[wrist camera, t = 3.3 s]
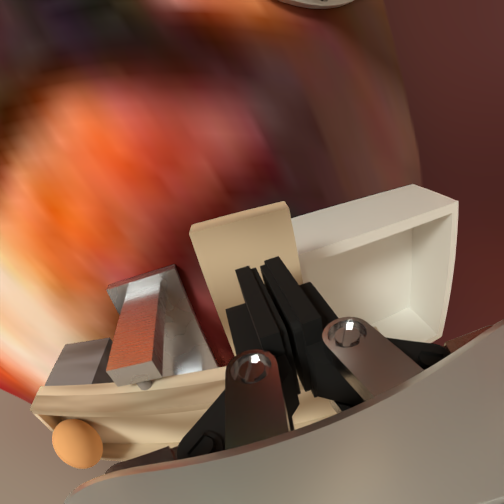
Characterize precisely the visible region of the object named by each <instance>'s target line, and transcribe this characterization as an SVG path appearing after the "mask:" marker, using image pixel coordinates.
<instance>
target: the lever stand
mask: <svg viewBox="0 0 504 504" xmlns="http://www.w3.org/2000/svg"><path fill="white" fill-rule="evenodd" d="M107 292H108V294H109V296H110V298H111V300H112V302H113V304H114V306H115V307H116V309H117V311H118V313H119V315H120V317H119V321H118V324H117V328H116V332H115V335H114V339H113V343H112V347H111V351H110V355H109V360H108V364H107V368H106V372H107V373H108V375H109V376H110V377H111V379H112V380H113V381H114V383H115V384H116V385H117V387H119V386H125V385H130V384H135V383H139V382H144V381H149V380H153V379H158V378H162V377H166V376H173V375H179V374H186V373H192V372H198V371H204V370H209V369H215V368H219V365H218V363H217V361H216V359H215V357H214V355H213V353H212V350H211V348H210V346H209V344H208V342H207V340H206V337H205V335H204V333H203V331H202V328H201V326H200V324H199V321H198V319H197V317H196V315H195V312H194V310H193V307H192V305H191V303H190V300H189V298H188V296H187V293H186V291H185V288H184V286H183V283H182V281H181V278H180V276H179V273H178V271H177V268H176V266H175V264H173V265H170V266H167V267H164V268H161V269H158V270H154V271H151V272H148V273H145V274H142V275H139V276H136V277H132V278H129V279H126V280H123V281H120V282H117V283H114V284H111V285H108V287H107Z"/></svg>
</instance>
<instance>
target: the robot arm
mask: <svg viewBox="0 0 504 504" xmlns="http://www.w3.org/2000/svg"><path fill="white" fill-rule="evenodd" d="M278 1H281V2H284V3H288V4H291V5H294V6H299V7H305V8H312V9H328V8H337V7H340V6H343V5H346V4H348V3H350V2H352V1H354V0H278ZM264 263H265V265H261V266H260V269H261V273H262V277H263V281H264V283H263V281H262V279H261V277H260V275H259V273H258V271H257V269H256V267H255V268H252V269H251V268H250V266H245V267H242V268H239V269H236V270H235V272H236V275H237V279H238V282H239V285H240V288H241V292H242V295H243V298H244V301H245V303H243V304H240V305H237V306H234V307H231V308H227V309H225V310H226V315H227V319H228V323H229V327H230V332H231V336H232V340H233V344H234V348H235V352H236V356H235V357H234V358H233V359H232V360H230V362H229V363H228V365H227V367H226V371H225V390H224V391H223V392H222V393H221V394H220V395H219V397H218V398H217V399H216V400H215V401H214V403H213V404H212V405H211V406H210V407H209V409H208V410H207V411H206V412H205V413H204V414H203V415H202V417H201V418H200V419H199V420H198V421H197V422H196V424H195V425H194V426H193V427H192V428H191V429H190V430H189V431H188V433H187V434H186V435H185V436H184V437H183V438H182V440H181V441H180V443H179V445H178V446H176V447H174V448H170V447H169V446H167V447H164V448H162V449H159V450H156V451H153V452H150V453H148V454H145V455H142V456H139V457H136V458H133V459H130V460H127V461H123V462H120V463H117V464H115V465H113V466H111V467H110V468H109V469H108V470H107V471H106V473H105V475H101V476H99V477H96V478H94V479H92V480H89V481H87V482H85V483H83V484H82V485H80V486H78V487H77V488H76V489H74V490H73V491H72V492H71V493H70V494H69V495H68V497H67V498H66V500H65V502H64V504H504V320H502V321H500V322H498V323H496V324H495V325H491V326H486V327H484V328H481V329H479V330H476V331H474V332H471V333H469V334H466V335H463V336H461V337H458V338H455V339H453V340H450V341H447V342H445V343H444V346H440V345H437V344H433V343H424V342H416V341H408V340H401V339H393V338H386V337H384V336H383V335H382V334H381V333H380V332H378V331H377V330H376V329H375V328H374V327H372V326H371V325H370V324H369V323H368V322H366V321H364V320H363V319H360V318H357V317H342V318H338V317H337V315H336V314H335V313H334V311H333V310H332V309H331V307H330V306H329V305H328V304H327V302H326V301H325V300H324V298H323V297H322V296H321V294H320V293H319V292H318V291H317V289H316V288H315V287H314V285H313V284H312V283H311V282H307V283H304V284H301V285H299V284H298V283H297V281H296V280H295V279H294V277H293V276H292V274H291V273H290V271H289V270H288V269H287V267H286V266H285V264H284V263H283V261H282V260H281V259H280V257H279V256H277V257H274V258H271V259H268V260H265V261H264ZM297 375H298V377H299V380H300V382H301V384H302V386H303V388H304V390H305V392H307V391H310V390H311V392H312V394H313V396H314V398H316V397H321V398H325V399H329V402H330V404H331V406H332V407H333V409H334V410H335V411H336V413H337V414H335V415H333V416H331V417H328V418H326V419H323V420H320V421H318V422H315V423H313V424H310V425H307V426H304V427H302V428H299V429H296V430H295V426H294V421H293V417H292V416H293V414H294V413H295V411H296V409H297V408H298V406H299V404H300V402H299V398H298V395H299V394H301V391H300V387H299V382H298V377H297Z"/></svg>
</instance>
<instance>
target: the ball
mask: <svg viewBox="0 0 504 504" xmlns="http://www.w3.org/2000/svg"><path fill="white" fill-rule="evenodd" d="M52 443H53V447H54V449H55V451H56V453H57V454H58V456H59V457H60V458H61V459H62V460H63V461H64V462H65V463H67V464H68V465H70V466H72V467H75V468H80V469H85V468H89V467H92V466H94V465H95V464H97V463H98V462H99V460H100V459H101V457H102V453H103V444H102V440H101V438H100V436H99V434H98V433H97V431H96V430H95V429H94V428H93V427H92V426H91V425H89V424H88V423H86V422H84V421H82V420H78V419H67V420H64V421H62V422H60V423H59V424H58V425H57V426H56V427H55V429H54V431H53V436H52Z"/></svg>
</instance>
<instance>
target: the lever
mask: <svg viewBox="0 0 504 504" xmlns="http://www.w3.org/2000/svg"><path fill="white" fill-rule="evenodd" d="M189 235H190V238H191V241H192V244H193V246H194V249H195V252H196V255H197V258H198V261H199V264H200V266H201V269H202V272H203V275H204V277H205V280H206V283H207V286H208V288H209V291H210V294H211V296H212V299H213V302H214V304H215V307H216V310H217V312H218V315H219V318H220V320H221V323H222V325H223V328H224V330H225V333H226V336H227V338H228V341H229V343H230V346H231V348H232V351H233V353H234V356H236V352H235V348H234V344H233V340H232V336H231V332H230V327H229V323H228V319H227V315H226V310H225V309H227V308H231V307H234V306H237V305H240V304H243V303H245V301H244V298H243V295H242V292H241V288H240V285H239V282H238V279H237V275H236V272H235V270H236V269H239V268H242V267H245V266H250V268H251V269H252V268H255V267H256V269H257V271H258V273H259V275H260V277H261V279H262V281H263V277H262V273H261V269H260V266H261V265H265V263H264V261H265V260H268V259H271V258H274V257H277V256H279V257H280V259H281V260H282V261H283V263H284V264H285V266H286V267H287V269H288V270H289V271H290V273H291V274H292V276H293V277H294V279H295V280H296V281H297V283H298V284H299V285H301V284H303V280H302V274H301V269H300V263H299V258H298V252H297V247H296V242H295V237H294V231H293V226H292V221H291V216H290V211H289V207H288V206H287V205H286V203H285V202H284V201H282V202H278V203H274V204H270V205H266V206H262V207H258V208H254V209H250V210H246V211H242V212H238V213H234V214H230V215H227V216H223V217H219V218H215V219H211V220H208V221H204V222H200V223H197V224H193V225H191V229H190V232H189ZM263 283H264V281H263ZM374 328H375V329H376V330H377V331H378V329H377V327H376V326H375V327H374ZM378 332H379V331H378ZM112 343H113V342H112V341H111V339H110V338H105V339H99V340H93V341H86V342H80V343H73V344H66V345H65V346H64V348H63V350H62V352H61V354H60V356H59V358H58V360H57V362H56V363H55V365H54V367H53V369H52V371H51V373H50V375H49V378H48V380H47V382H46V384H45V386H40V388H39V390H38V392H37V394H36V397H35V399H34V401H33V403H32V405H31V408H30V411H31V412H32V413H33V414H34V415H35V416H36V417H37V418H39V420H40V421H41V422H42V423H43V424H44V425H45V426H46V427H48V428H49V429H50V430H51V431H52V432H53V431H54V429H55V427H56V426H57V425H58V424H59V423H60V422H62V421H64V420H67V419H78V420H82V421H84V422H86V423H88V424H89V425H91V426H92V427H93V428H94V429H95V430H96V431H97V433H98V434H99V436H100V438H101V440H102V444H103V453H102V457H101V459H100V460H111V461H127V460H130V459H133V458H136V457H139V456H142V455H145V454H148V453H150V452H153V451H156V450H159V449H162V448H164V447H167V446H169V447H170V448H174V447H176V446H178V445H179V443H180V441H181V440H182V438H183V437H184V436H185V435H186V434H187V433H188V431H189V430H190V429H191V428H192V427H193V426H194V425H195V424H196V422H197V421H198V420H199V419H200V418H201V417H202V415H203V414H204V413H205V412H206V411H207V410H208V409H209V407H210V406H211V405H212V404H213V403H214V401H215V400H216V399H217V398H218V397H219V395H220V394H221V393H222V392H223V391H224V390H225V371H226V367H227V366H225V367H220V368H215V369H209V370H204V371H198V372H192V373H186V374H179V375H173V376H166V377H162V378H158V379H153V380H149V381H144V382H139V383H135V384H130V385H125V386H119V387H117V385H116V384H115V383H114V381H113V380H112V379H111V377H110V376H109V375H108V373H107V372H106V368H107V364H108V360H109V355H110V351H111V347H112ZM297 377H298V375H297ZM298 382H299V387H300V391H301V394H299V395H298V398H299V402H300V404H299V406H298V408H297V409H296V411H295V413H294V414H293V416H292V417H293V421H294V426H295V430H296V429H299V428H302V427H304V426H307V425H310V424H313V423H315V422H318V421H320V420H323V419H326V418H328V417H331V416H333V415H335V414H337V413H336V411H335V410H334V409H333V407H332V406H331V404H330V402H329V399H325V398H321V397H316V398H314V396H313V394H312V392H311V390H310V391H307V392H305V390H304V388H303V386H302V384H301V382H300V380H299V377H298Z"/></svg>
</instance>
